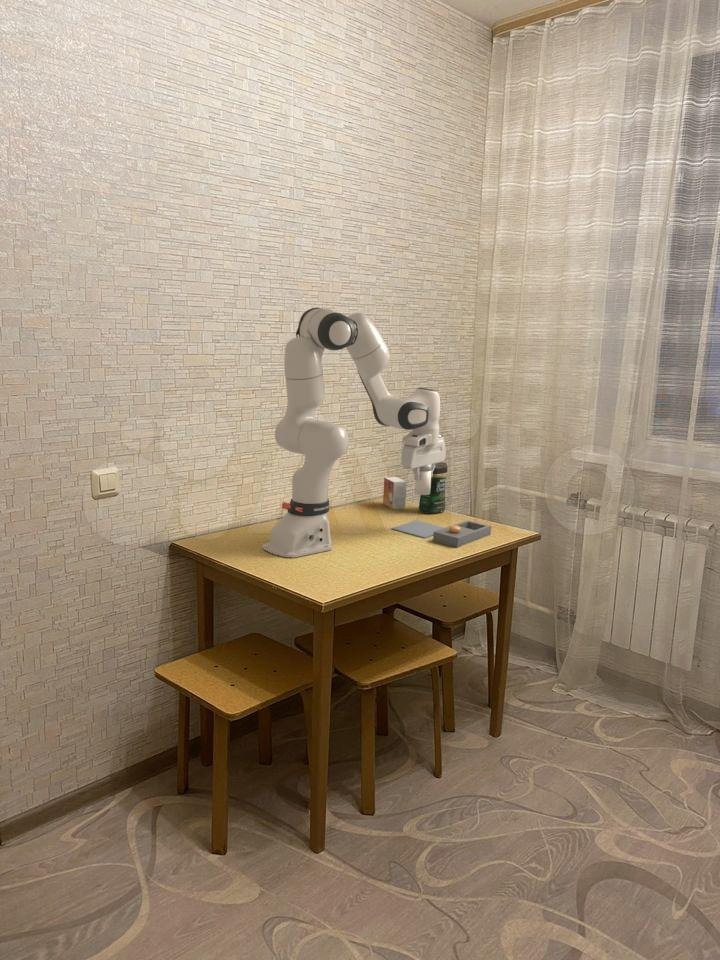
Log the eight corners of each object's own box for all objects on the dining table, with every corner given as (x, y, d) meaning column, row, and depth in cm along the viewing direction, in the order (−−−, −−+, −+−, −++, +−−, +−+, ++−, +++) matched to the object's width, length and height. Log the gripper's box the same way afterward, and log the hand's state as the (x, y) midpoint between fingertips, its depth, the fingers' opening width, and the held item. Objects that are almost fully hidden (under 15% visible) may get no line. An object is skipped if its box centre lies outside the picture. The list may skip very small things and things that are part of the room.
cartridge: (424, 495, 244) (425, 466, 242) (412, 493, 247) (413, 463, 245) (433, 493, 248) (434, 464, 246) (421, 490, 251) (422, 461, 249)
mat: (424, 538, 241) (424, 537, 241) (391, 529, 250) (391, 528, 250) (449, 529, 251) (449, 528, 251) (416, 521, 260) (416, 520, 260)
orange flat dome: (456, 533, 236) (456, 529, 236) (446, 531, 239) (447, 526, 238) (462, 531, 239) (462, 527, 239) (453, 528, 241) (453, 524, 241)
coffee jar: (431, 515, 268) (433, 465, 263) (415, 511, 273) (417, 461, 269) (449, 511, 274) (452, 462, 270) (433, 507, 280) (435, 458, 276)
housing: (457, 547, 233) (458, 538, 232) (433, 540, 239) (433, 531, 238) (490, 534, 247) (491, 526, 247) (466, 528, 253) (467, 520, 253)
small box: (382, 504, 281) (383, 477, 279) (395, 503, 284) (396, 476, 281) (392, 509, 274) (393, 482, 272) (405, 508, 277) (407, 481, 274)
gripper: (436, 432, 253) (433, 472, 256) (398, 439, 238) (397, 481, 241) (451, 435, 249) (449, 475, 252) (414, 442, 234) (412, 484, 237)
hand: (423, 478), depth 246 cm, fingers closed on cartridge, 5 cm apart
